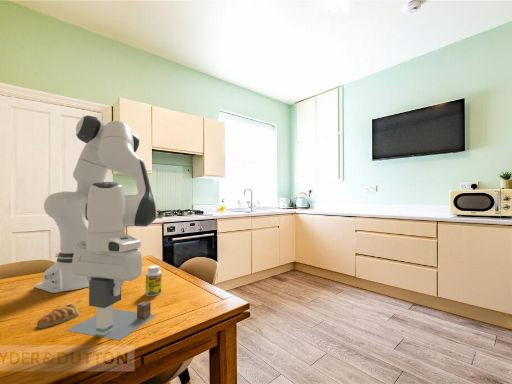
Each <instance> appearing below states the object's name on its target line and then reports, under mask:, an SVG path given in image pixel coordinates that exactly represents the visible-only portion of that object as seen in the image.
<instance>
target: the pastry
mask: <svg viewBox="0 0 512 384" xmlns="http://www.w3.org/2000/svg"><path fill="white" fill-rule="evenodd" d="M78 316H79V309H77V306H76V304H73V303H70V304H65V305H64V306H60V307H57V308H55V309H53V310H51V311H50V312H49V313H47V314H45V315H44V316H42V317H41V318H39V320H37V324H36V328H38V329H45V328H49V327H51V326H55V325H59V324H62V323H64V322H66V321H69V320H71V319H74V318H77V317H78Z"/></svg>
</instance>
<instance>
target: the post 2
mask: <svg viewBox="0 0 512 384" xmlns="http://www.w3.org/2000/svg"><path fill="white" fill-rule="evenodd" d="M151 305H152V303H151V301H145V300H144V301H142V302H140V303H138V304H136V312H137V318H138V319H146V318H147V317H149V316H150V314H151Z"/></svg>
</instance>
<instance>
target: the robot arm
mask: <svg viewBox="0 0 512 384" xmlns="http://www.w3.org/2000/svg"><path fill="white" fill-rule="evenodd" d="M75 133H76V134H75V135H76V138H77V139H78V140H80V141H81V142H83V143H85V144H84V147H83V149H82V150H81V152H80V155H79V158H78V159H77V163H76V164H75V167H74V170H73V172H72V177H73V179H74V180H75V181H76V184H77V187H76V191H60V192H55V193H50V194H49V195H48V196H47V197H46V199H45V200H44V203H43V208H44V209H43V210H44V212H45V213H46V215H47V216H48V217H50V218H51V219H52V220H54V222H55V224H56V227H57V228H58V231H59V238H60V239H59V240H60V246H59V247H60V250H59V251H60V252H58V253H55V258H57V259H56V262H55V263H54V264H52V265H51V266H50V267H49V268H47V269H46V270H45V271H44V274H43V280H42V281H41V282H38V283H36V284H35V289H36V288H37V289H39V290H42V291H45V292H48V293H51V294H56V293H60V292H68V291H74V290H79V289H84V288H85V289H86V288H87V287H88V288H89V280H91V279H94V278H105V279H114V283H116V284H115V286H114V288H113V289H111V296H118V295H120V288H121V289H122V286H123V284H124V283H125V282H127V281H128V282H132V281H134V280H136V279H138V278H139V277H140V276H141V275H142V271H143V268H142V267H143V264H142V263H143V262H142V261H143V260H142V253H141V251H140V248H141V245H142V244H141V241H140V239H138V238H135V237H133V236H131V235H129V234H127V233H126V229H125V228H126V227H133V226H134V227H148V226H149V225H151V224H152V223H153V222H154V221H155V220H156V219H157V215H158V207H157V203H156V201H155V199H154V195H153V191H152V188H151V187H152V186H151V184H150V180H149V175H148V171H147V168H146V167H147V166H146V164H145V162H144V160H143V158H141V157H140V156H138V155H137V154H136V152H137V150H138V149H139V147H140V137H139V136H138V135H137V134H136V133H134V132H133V131H132V129H131V128H130V126H128V124H127V123H125V122H123V121H120V120H111V121H107V120H103V119H101V118H98V117H96V116H93V115H88V114H87V115H84V116H82V118H80V120H78V121H77V123H76V127H75ZM108 170H111V171H113V172H114V173H119V174H122V175H125V176H128V177H130V178H132V179H133V180H134V181H135V184H136V188H137V193H136V194H125V192H124V187H123V184H122V183H119V182H114V181H105V179H106V176H107V173H108ZM86 221H87V222H88V224H87V223H86Z"/></svg>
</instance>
